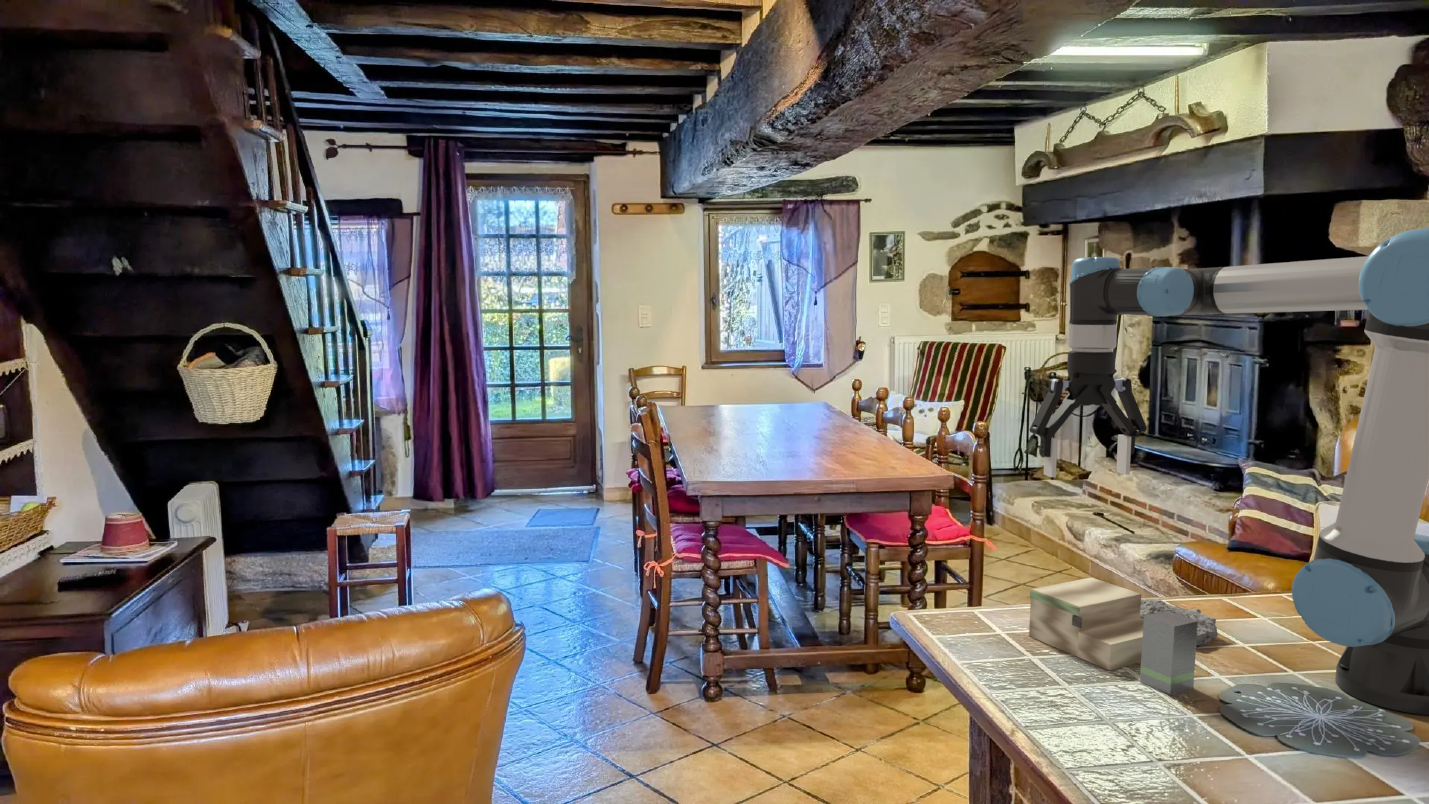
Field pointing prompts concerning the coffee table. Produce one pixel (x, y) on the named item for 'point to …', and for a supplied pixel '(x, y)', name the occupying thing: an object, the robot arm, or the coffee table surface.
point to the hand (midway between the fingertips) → (1086, 474)
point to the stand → (1089, 621)
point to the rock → (1205, 623)
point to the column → (1168, 652)
